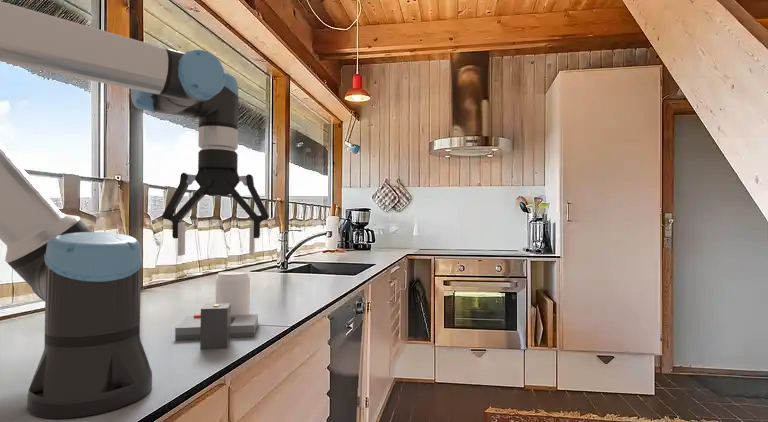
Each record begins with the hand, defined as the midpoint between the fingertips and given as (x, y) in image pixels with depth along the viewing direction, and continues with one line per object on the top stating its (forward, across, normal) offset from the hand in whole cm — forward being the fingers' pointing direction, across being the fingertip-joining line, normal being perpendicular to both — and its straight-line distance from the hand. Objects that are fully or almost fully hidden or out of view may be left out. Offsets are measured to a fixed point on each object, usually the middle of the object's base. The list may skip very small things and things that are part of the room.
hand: (217, 254), depth 92 cm
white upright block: (+18, 0, -22) cm, 28 cm away
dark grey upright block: (+18, 0, 0) cm, 18 cm away
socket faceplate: (+18, +1, -11) cm, 21 cm away
